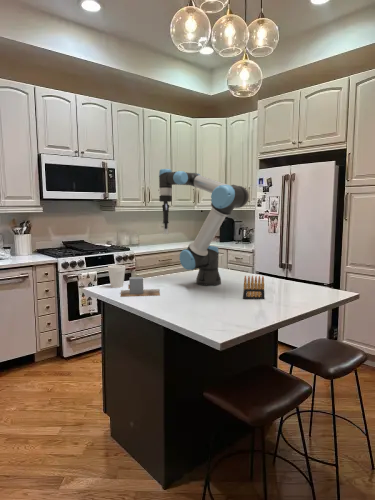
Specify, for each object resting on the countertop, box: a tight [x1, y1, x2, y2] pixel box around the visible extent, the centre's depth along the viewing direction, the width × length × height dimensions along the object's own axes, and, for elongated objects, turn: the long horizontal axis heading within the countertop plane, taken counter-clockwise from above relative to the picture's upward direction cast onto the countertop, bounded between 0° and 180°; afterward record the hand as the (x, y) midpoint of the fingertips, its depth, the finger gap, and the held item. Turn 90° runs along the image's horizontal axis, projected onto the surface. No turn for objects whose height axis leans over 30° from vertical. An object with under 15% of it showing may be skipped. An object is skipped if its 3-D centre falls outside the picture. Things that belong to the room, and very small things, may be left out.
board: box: [120, 292, 161, 298], centre depth 186 cm, size 20×13×2 cm, turn 98°
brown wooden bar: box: [120, 288, 161, 295], centre depth 186 cm, size 20×2×2 cm, turn 98°
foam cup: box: [107, 264, 126, 289], centre depth 200 cm, size 10×9×13 cm
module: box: [127, 276, 144, 294], centre depth 185 cm, size 8×5×8 cm, turn 98°
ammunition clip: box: [242, 275, 266, 300], centre depth 180 cm, size 11×2×12 cm, turn 89°
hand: (165, 233), depth 219 cm, fingers closed
